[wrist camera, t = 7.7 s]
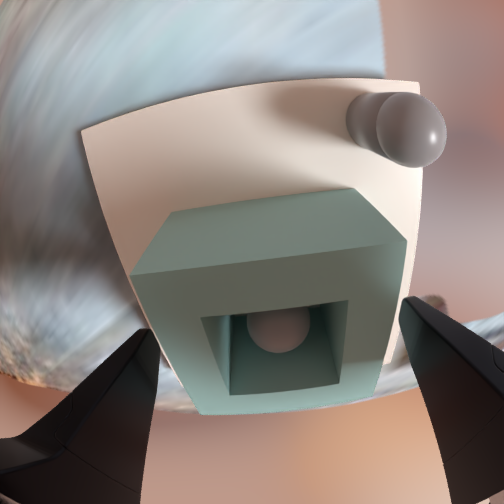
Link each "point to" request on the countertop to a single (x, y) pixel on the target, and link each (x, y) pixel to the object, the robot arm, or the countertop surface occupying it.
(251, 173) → the base plate
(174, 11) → the countertop surface
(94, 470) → the robot arm
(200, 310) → the block with square hole
